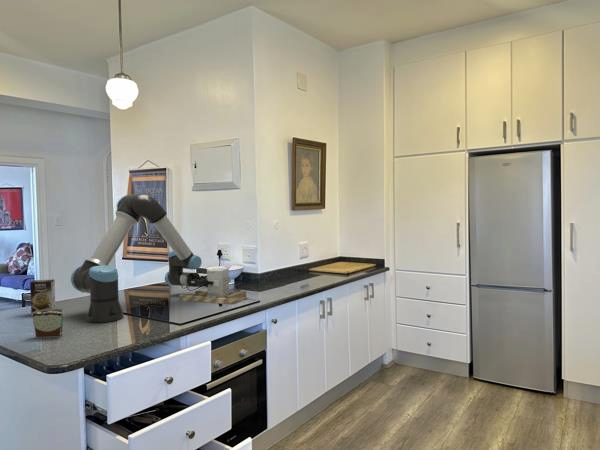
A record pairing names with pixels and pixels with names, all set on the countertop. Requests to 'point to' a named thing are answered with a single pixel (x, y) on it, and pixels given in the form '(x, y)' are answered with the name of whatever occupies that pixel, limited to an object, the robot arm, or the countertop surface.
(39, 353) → the countertop surface
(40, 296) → the coffee box
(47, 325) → the food container
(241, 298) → the wooden cutting board
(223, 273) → the supplement box
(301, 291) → the countertop surface
